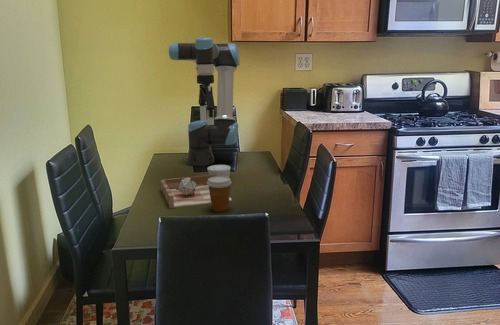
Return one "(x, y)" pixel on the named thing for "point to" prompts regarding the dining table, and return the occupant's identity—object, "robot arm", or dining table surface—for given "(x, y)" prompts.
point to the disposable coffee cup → (219, 192)
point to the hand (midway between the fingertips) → (206, 122)
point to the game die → (187, 186)
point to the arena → (179, 200)
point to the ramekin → (219, 170)
